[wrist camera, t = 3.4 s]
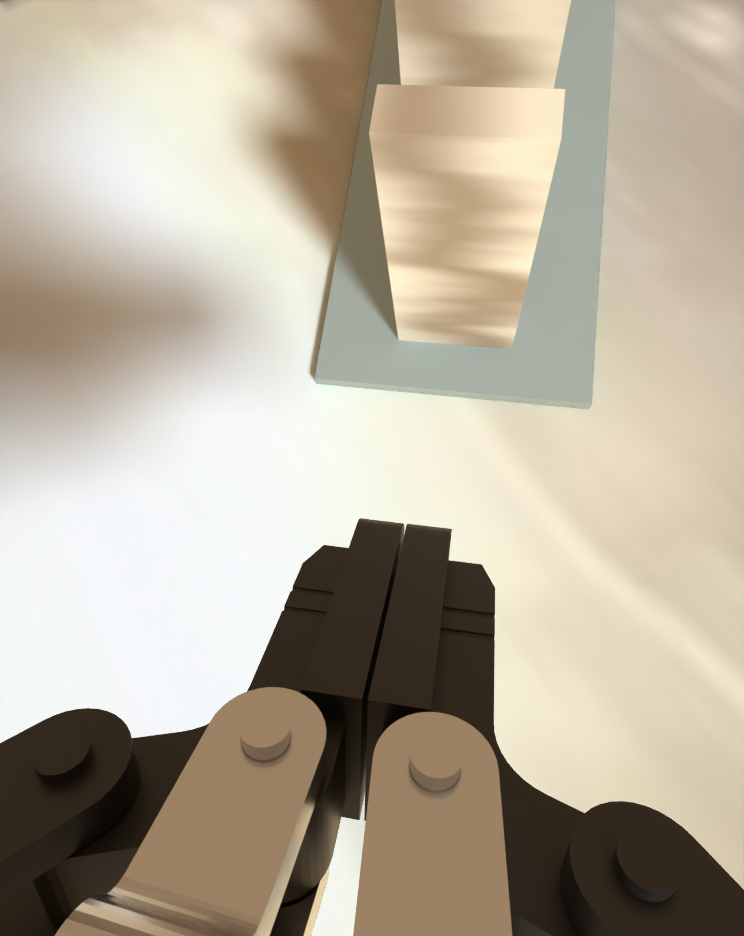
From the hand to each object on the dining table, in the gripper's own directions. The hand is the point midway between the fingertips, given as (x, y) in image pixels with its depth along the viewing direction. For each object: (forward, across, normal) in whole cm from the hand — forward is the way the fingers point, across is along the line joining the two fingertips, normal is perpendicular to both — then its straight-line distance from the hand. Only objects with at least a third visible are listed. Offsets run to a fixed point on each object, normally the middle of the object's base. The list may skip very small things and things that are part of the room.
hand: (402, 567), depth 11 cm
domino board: (+27, 0, -5) cm, 28 cm away
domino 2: (+20, 0, +2) cm, 20 cm away
